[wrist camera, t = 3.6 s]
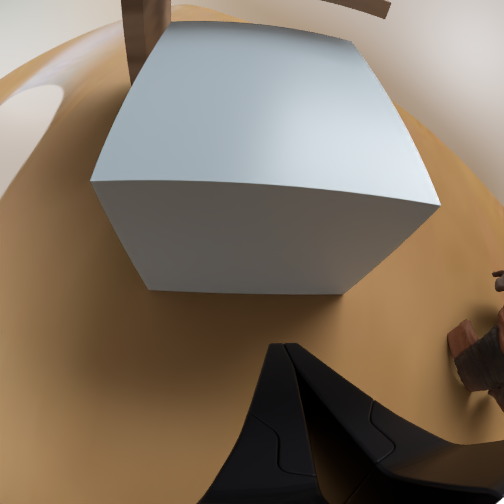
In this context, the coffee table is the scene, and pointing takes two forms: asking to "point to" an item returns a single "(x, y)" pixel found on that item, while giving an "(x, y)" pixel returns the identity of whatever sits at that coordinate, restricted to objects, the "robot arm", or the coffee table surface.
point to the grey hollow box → (259, 164)
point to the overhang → (159, 17)
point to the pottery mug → (481, 354)
